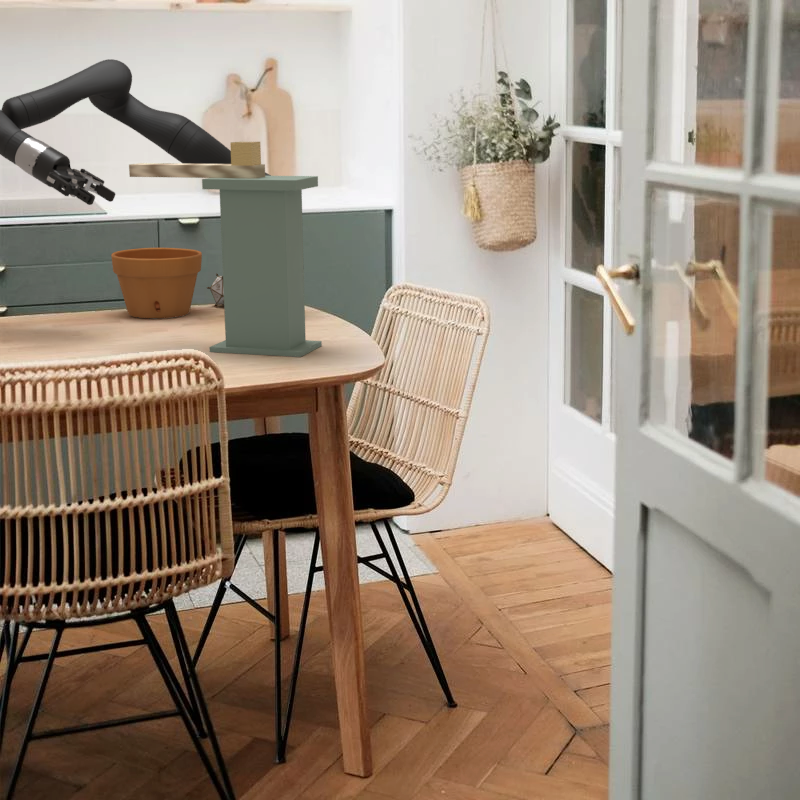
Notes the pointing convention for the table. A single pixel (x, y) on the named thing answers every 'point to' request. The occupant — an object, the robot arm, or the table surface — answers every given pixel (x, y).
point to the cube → (245, 153)
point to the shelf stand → (263, 264)
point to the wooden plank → (196, 170)
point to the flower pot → (157, 280)
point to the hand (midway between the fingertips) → (103, 199)
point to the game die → (217, 290)
